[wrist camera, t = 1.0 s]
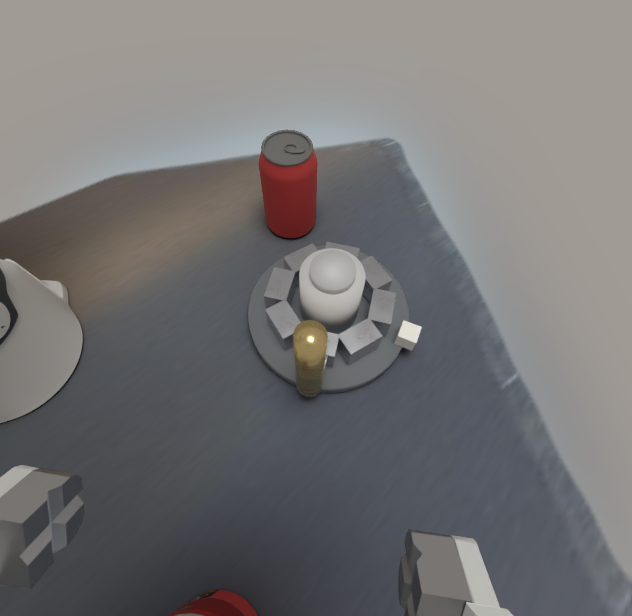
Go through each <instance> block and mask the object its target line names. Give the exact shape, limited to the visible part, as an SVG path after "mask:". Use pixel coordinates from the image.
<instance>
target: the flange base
mask: <svg viewBox="0 0 632 616" xmlns="http://www.w3.org/2000/svg"><path fill="white" fill-rule="evenodd" d="M325 246H326V245H324V246H315V247H316V248H317V250H318V251H316V252H314V253H312V254H311V255H309V256H308V257H307V258H306V259H305V260H304V262H303V263H302V265H301V268H300V272H299V284H300V285H299V286H297V287H296V288H295V291H294V294H293V298H292V301H291V304H290V307H291V308H292V310H293V311H294V313H295V314H296V316H297V317H298V319H299V320H300V322H303V321H306V320H314V321H317V322H320V323H321V324H322V325H323V326H324V327H325V328H326V330H327V332H330V333H334V334H340V333H342V332H344V331H346V330H347V329H349V328H351V327H353V326H355V325H356V324H358V323H360V322H362V321H364V320H365V319H367V314H368V309H369V304H370V303H369V302H368V300H367V299H366V298H365V296H364V295H363V294H362V292H363V288H364V284H365V279H366V276H365V270H364V267H363V265H362V264H361V262H360V261H362V260H364V259H366V258H368V257H370V256H368V255H366V254H364V253H362V252H359V255H358V259H357V258H356V257H355V256H354V255H352V254H351V253H349V252H347V251H344V250H341V249H336V248H327V249H325ZM294 252H295V251H294ZM292 253H293V252H292ZM289 254H291V253H289ZM289 254H288V255H289ZM286 256H287V255H286ZM284 257H285V256H284ZM377 262H378V261H377ZM378 263H379V262H378ZM379 264H380V266H381V267H382V268H383V269H384V271H385V272H386V273H387V274H388V275H389V277H390V278H391V279H392V283H391V286H390V288H389V291H390V292H394V293H396V298H395V304H394V310H393V316H392V322H391V326H390V328H389V330H388V333H387V335H386V337H385V336H383V337H382V339H381V342H380V344H379V346H378V348H377V349H375V350H373V351H372V352H370V353H368V354H367V355H365V356H363V357H361V358H360V359H358V360H356V361H355V362H353V363H351V364H350V365H348V364H347V363H346V361H345V360H344V359H343V357H342V356H341V354H340V353H339V351H338V350H337V351H336V356H335V360H334V364H333V367H328V366H326V369H325V373H324V377H323V384H322V389H321V391H320V393H342V392H347V391H352V390H355V389H358V388H361V387H363V386H365V385H367V384H369V383H371V382H373V381H374V380H376V379H377V378H378V377H380V376H381V375H382V374H383V373H384V372H385V371H386V370H388V369H389V367H390V366H391V365H392V363H393V362H394V361H395V359H396V357H397V356H398V354H399V352H400V350H401V348H402V347H403V348H406V349H408V350H411V351H412V350H413V348H414V346H415V345H416V343H417V340H418V337H419V334H420V331H421V328H422V327H420V326H417V325H415V324H412V323H410V322H409V310H408V305H407V300H406V297H405V295H404V292H403V290H402V288H401V286H400V285H399V283H398V281H397V280H396V279H395V277H394V276H393V275H392V274H391V273H390V272H389V271H388V269H387V268H385V267H384V266H383V265H382V264H381V263H379ZM274 267H277V268H282V269H284V259H283V257H282V258H280V259H279V260H278V261H276V262H275V263H273V264H272V265H271V266H270V267H269V268H268V269H267V270H266V271H265V272H264V273H263V275H262V276H261V277H260V279H259V280H258V282H257V283H256V285H255V287H254V290H253V292H252V295H251V298H250V302H249V309H248V321H249V327H250V332H251V335H252V338H253V341H254V345H255V347H256V349H257V351H258V353H259V355H260V357H261V358H262V360H263V361H264V363H265V364H266V365H267V366H268V367H269V368H270V369H271V370H272V371H273V372H274V373H275V374H276V375H277V376H279V377H280V378H281V379H283V380H285V381H286V382H288V383H290V384H292V385H294V386H296V371H295V358H294V346H292V347H290V348H289V349H287V350H284V348H283V347H282V345H281V344H280V342H279V340H278V339H277V337H276V335H275V334H274V332H273V331H272V329H271V327H270V326H269V324H268V322H267V317H266V312H265V309H266V306H265V300H264V294H265V291H266V288H267V285H268V283H269V280H270V277H271V274H272V271H273V268H274Z"/></svg>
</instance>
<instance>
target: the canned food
mask: <svg viewBox="0 0 632 616" xmlns="http://www.w3.org/2000/svg"><path fill="white" fill-rule="evenodd" d="M168 616H258V615H257V613H256V612H255V610H254V608H253V607H252V606H251V605H250V604H249V603H248V601H246V600H245V599H244V598H242V597H241V596H240V595H238V594H236V593H233V592H231V591H226V590H212V591H208V592H205V593H203V594H201V595H199V596H197V597H195V598H194V599H192V600H191V601H189V602H188V603H186V604H185V605H183V606H182V607H180V608H179V609H177V610H176V611H174V612H172V613H171V614H169V615H168Z"/></svg>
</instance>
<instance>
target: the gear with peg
mask: <svg viewBox="0 0 632 616" xmlns="http://www.w3.org/2000/svg"><path fill="white" fill-rule="evenodd" d="M327 248H336V249H341V250H344V251H347V252H349V253H351V254H352V255H354V256H355V257H356V258H357V259H358V255H359V250H360V248H355V247H351V246H346V245H341V244H336V243H331V242H327V243H326V246H325V249H327ZM316 251H318V250H317V248H316V247H315V246H314V244H313V243H312V244H310V245H308V246H306V247H304V248H302V249H300V250H297V251H295V252H293V253H291V254H289V255H287V256H285V257H283V259H284V269H282V268H277V267H274V268H273V271H272V274H271V277H270V280H269V283H268V285H267V288H266V291H265V294H264V300H265V306H266V309H265V312H266V317H267V322H268V324H269V326H270V327H271V329H272V331H273V332H274V334H275V335H276V337H277V339H278V340H279V342H280V344H281V345H282V347H283V348H284V350H287V349H289V348H290V347H292V346H294V358H295V371H296V387H297V389H298V391H299V393H300V394H302V395H303V396H306V397H313V396H316V395H317V394H318V393H320V391H321V389H322V384H323V377H324V373H325V369H326V366H328V367H333V364H334V360H335V356H336V351H337V350H338V351H339V353H340V354H341V356H342V357H343V359H344V360H345V361H346V363H347V364H348V365H350V364H351V363H353V362H355V361H356V360H358V359H360V358H361V357H363V356H365V355H367V354H368V353H370V352H372V351H373V350H375V349H377V348H378V346H379V344H380V342H381V339H382V337H383V336H385V337H386V335H387V333H388V330H389V328H390V326H391V322H392V316H393V310H394V304H395V298H396V293H394V292H390V291H389V288H390V286H391V283H392V279H391V278H390V277H389V275H388V274H387V273H386V272H385V271H384V269H383V268H382V267H381V266H380V264H379V263H378V262H377V261H376V260H375V258H374V257H373V256H370V257H368V258H366V259H364V260H362V261H360V262H361V264H362V265H363V267H364V270H365V276H366V279H365V284H364V288H363V292H362V294H363V295H364V296H365V298H366V299H367V300H368V302H369V303H370V304H369V309H368V314H367V319H365V320H364V321H362V322H360V323H358V324H356V325H355V326H353V327H351V328H349V329H347V330H346V331H344V332H342V333H340V334H334V333H330V332H327V330H326V328H325V327H324V326H323V325H322V324H321V323H320V322H317V321H314V320H306V321H303V322H300V320H299V319H298V317H297V316H296V314H295V313H294V311H293V310H292V308H291V307H290V304H291V301H292V298H293V294H294V291H295V288H296V287H297V286H299V285H300V284H299V272H300V268H301V265H302V263H303V262H304V260H305V259H306V258H307V257H308V256H309V255H311V254H312V253H314V252H316Z"/></svg>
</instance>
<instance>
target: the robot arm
mask: <svg viewBox="0 0 632 616" xmlns="http://www.w3.org/2000/svg"><path fill="white" fill-rule="evenodd" d="M82 344H83V335H82V329H81V326H80V323H79V321H78V319H77V317H76V316H75V314H74V313H73V312H72V310H71V309H70V307H69V304H68V292H67V289H66V287H65V286H64V285H63V284H61V283H60V282H58V281H48V280H39V279H37V278H36V277H35V276H33V275H32V274H31V273H29V272H28V271H27V270H25V269H24V268H23V267H21V266H20V265H19V264H17V263H16V262H14V261H12V260H10V259H5V260H1V259H0V423H3V422H6V421H9V420H12V419H15V418H18V417H20V416H23V415H25V414H27V413H29V412H31V411H33V410H34V409H36V408H38V407H39V406H41V405H42V404H43V403H45V402H46V401H47V400H49V399H50V398H51V397H52V396H53V395H54V394H56V393H57V392H58V391H59V389H60V388H61V387H62V386H63V385H64V384H65V383H66V381H67V380H68V379H69V377H70V376H71V374H72V372H73V371H74V369H75V367H76V365H77V363H78V360H79V357H80V354H81V350H82ZM82 489H83V487H82V479H81V477H79V476H77V475H74V474H69V473H64V472H59V471H53V470H48V469H43V468H35V467H30V466H25V465H19V466H16V467H13V468H12V469H11V470H9V471H8V472H7V473H6V474H4V475H3V476H2V477H0V585H5V586H12V587H19V588H26V589H31V588H32V587H33V586H34V585H35V584H36V582H37V581H38V580H39V579H40V578H41V576H42V575H43V574H44V573H45V572H46V570H47V569H48V568H49V567H50V566H51V564H52V563H53V560H54V552H56V551H58V550H60V549H62V548H64V547H65V546H67V545H68V544H69V543H70V542H71V540H72V539H73V538H74V537H75V535H76V534H77V531H78V529H79V527H80V525H81V523H82V520H83V515H84V503H83V502H82V500H81V499H80V498H79V496H78V493H79V492H80V491H81V490H82ZM405 549H406V554H404V555H403V556H402V557H401V561H400V567H399V578H398V589H399V601H400V605H401V606H402V608H403V609H404V611H405V614H404V616H513V615H512V614H511V613H510V612H509V611H508V609H503V608H500V606H499V603H498V600H497V598H496V595H495V592H494V589H493V587H492V584H491V581H490V578H489V576H488V573H487V570H486V568H485V565H484V562H483V559H482V557H481V554H480V551H479V548H478V546H477V543H476V542H475V540H474V539H472V538H465V537H458V536H450V535H444V534H438V533H431V532H425V531H418V530H412V529H408V531H407V533H406V537H405Z"/></svg>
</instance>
